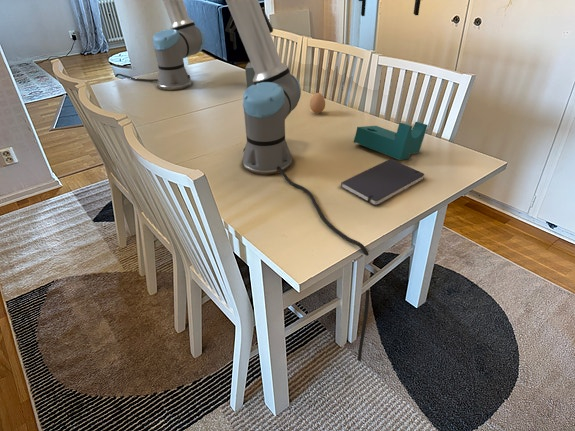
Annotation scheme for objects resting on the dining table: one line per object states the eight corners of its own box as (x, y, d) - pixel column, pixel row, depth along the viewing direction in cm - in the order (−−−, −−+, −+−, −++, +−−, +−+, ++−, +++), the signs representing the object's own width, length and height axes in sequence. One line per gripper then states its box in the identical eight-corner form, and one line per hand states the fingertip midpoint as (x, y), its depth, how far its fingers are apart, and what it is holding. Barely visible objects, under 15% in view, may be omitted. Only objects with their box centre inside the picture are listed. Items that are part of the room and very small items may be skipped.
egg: (314, 117, 155) (314, 96, 150) (307, 111, 159) (307, 91, 155) (327, 114, 157) (328, 94, 152) (320, 109, 161) (320, 89, 157)
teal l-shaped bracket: (417, 156, 130) (427, 124, 125) (399, 160, 122) (409, 126, 118) (372, 139, 141) (380, 110, 136) (353, 141, 133) (361, 110, 129)
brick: (249, 84, 190) (248, 62, 184) (260, 84, 189) (259, 62, 184) (247, 90, 183) (245, 68, 177) (258, 90, 182) (256, 67, 177)
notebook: (389, 163, 124) (340, 187, 113) (390, 158, 123) (341, 182, 112) (424, 178, 116) (375, 206, 105) (425, 174, 115) (376, 201, 104)
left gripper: (215, -5, 162) (220, 51, 174) (277, -4, 160) (277, 52, 173) (219, -8, 168) (223, 46, 180) (278, -7, 166) (279, 47, 179)
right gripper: (346, -86, 90) (341, 18, 103) (461, -90, 89) (441, 16, 101) (345, -86, 96) (340, 12, 109) (452, -89, 95) (434, 11, 107)
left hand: (250, 49), depth 177 cm, fingers open, 13 cm apart
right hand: (389, 15), depth 105 cm, fingers open, 13 cm apart
